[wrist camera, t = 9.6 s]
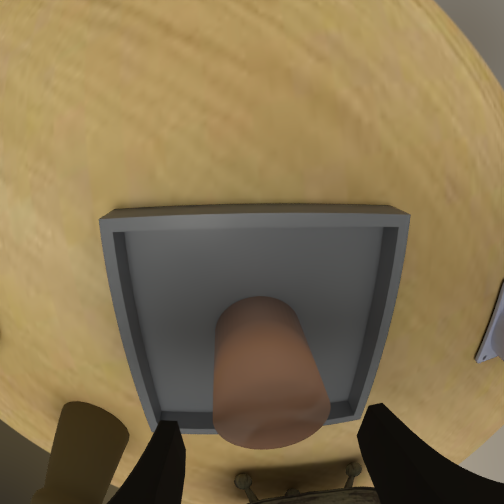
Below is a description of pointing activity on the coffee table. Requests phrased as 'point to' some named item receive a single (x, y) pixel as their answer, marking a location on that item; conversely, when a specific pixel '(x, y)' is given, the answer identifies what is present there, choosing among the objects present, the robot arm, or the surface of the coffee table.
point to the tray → (251, 293)
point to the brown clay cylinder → (265, 377)
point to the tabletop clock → (317, 492)
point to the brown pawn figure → (82, 456)
